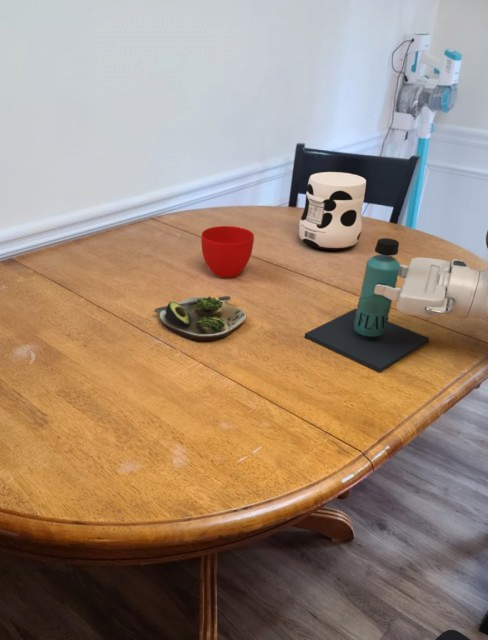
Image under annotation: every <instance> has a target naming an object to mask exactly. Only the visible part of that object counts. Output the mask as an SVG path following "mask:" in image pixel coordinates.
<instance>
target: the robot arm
mask: <svg viewBox="0 0 488 640" xmlns="http://www.w3.org/2000/svg"><path fill="white" fill-rule="evenodd" d="M485 234H486V235H485V244H486V245H485V246H486V248H487V249H488V230H487V231H486V233H485ZM397 277H399V278H403V279H404V280H403V283H402V286H401V287H398V286H396V287H395V288H393V287H390V286H387V285H386V284H385V283H377V284H376V286H375V290H374V293H375V294H378V295H383V296H385V297H387V298H388V299H390V300H393V302H397V303H396V308H395V310H396V311H397V312H398V313H400V314H402V315H409V316H415V317H416V316H417V317H425V318H437V317H439V316H444V315H447V316H450V317H456V318H461V319H467V320H468V319H469V320H470V319H479V320H482V321H486V322H488V268H486V269H485V270H480V269H473V268H472V267H470V266H469V265H467V263H466V262H465V261H464V260H462V259H455V258H453V259H452V260H451V261H449V260H446V259H441V258H435V257H434V258H432V257H422V256H420V257H419V256H418V257H412V258H411V259H410V262H409V264H408V265H407V264H400V269H399V272H398V276H397Z"/></svg>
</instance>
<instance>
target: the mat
mask: <svg viewBox="0 0 488 640" xmlns="http://www.w3.org/2000/svg"><path fill="white" fill-rule="evenodd" d="M356 312H357V308H354V309H352V310H350V311H347V312H346V313H344V314H342V315H339V316H337V317H335V318H333V319H331V320H329V321H327V322H325V323H323V324H321V325H319V326H317V327H315V328H313V329H311V330H309V331H307V332H305V333H304V338H305V339H306V340H309V341H310V342H313V343H315V344H317V345H319V346H321V347H324V348H326V349H328V350H330V351H333V352H335V353H336V354H339V355H341V356H342V357H345V358H347V359H349V360H351V361H353V362H355V363H358V364H360V365H362V366H365V367H366V368H368V369H370V370H373V371H375V372H377V373H378V374H380V373H382V372H383V371H385V370H387V369H389V368H391V366H394V365H395V364H396V363H398V362H400V361H401V360H403V359H405V358H406V357H408V356H409V355H411V354H412V353H414V352H416V351H417V350H419V349H420V348H422V347H424V346H425V345H427V344H428V343H430V341H431V337H428V336H426V335H423V334H421V333H419V332H416V331H414V330H412V329H411V330H410V329H408V328H406V327H403V326H401V325H398V324H396V323H393V322H391V321H389V320H388V321H387V323H386V327H385V328H386V329H385V331H384V332H383V334H382V335H380V336H375V337H371V336H364V335H361V334H359V333H357V332H356V331H355V330H354V320H355V318H354V317H355V316H356V315H355V314H356Z"/></svg>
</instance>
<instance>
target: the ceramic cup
mask: <svg viewBox="0 0 488 640" xmlns="http://www.w3.org/2000/svg"><path fill="white" fill-rule="evenodd" d="M200 239H201V241H200V242H201V252H202V257H203V259H204V263H205V264H206V266H207V268H208V270H210V272H211V273H212V274H213V273H214V274H215V275H217V276H220V277H219V278H221V277H232V278H235V277H234V276H236V275H237V276H239V274H240V273H241V272H242V271H243V270H244V269H245V268H246V267H247V265H248V263H249V261H250V259H251V256H252V253H253V247H254V242H255V234H254V233H253V232H252V231H251V230H249V229H246V228H244V227H239V226H232V225H220V226H213V227H208V228H206V229H204V230H203V231H202V232H201V237H200ZM214 274H213V275H214ZM215 275H214V276H215ZM217 276H216V277H217ZM237 276H236V277H237Z"/></svg>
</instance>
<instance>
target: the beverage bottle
mask: <svg viewBox="0 0 488 640" xmlns="http://www.w3.org/2000/svg"><path fill="white" fill-rule="evenodd" d="M399 245H400V241H398V240H396V239H394V238H389V237H387V238H386V237H384V238H379V239H377V242H376V245H375V248H374V252H375V253H377V254H376V255H374V256H372V257H370V258H368V259H367V261H366V263H365V269H364V275H363V280H362V285H361V290H360V294H359V298H358V300H357V301H358V302H357V306H356V309H357V312H356V314H355V315H356V316H355V317H354V318H355V320H354V330H355V331H356V332H357V333H359V334H361V335H364V336H371V337H375V336H380V335H382V334H383V332H384V331H385V329H386V328H385V327H386V323H387V321H389V318H390V316H389V315H390V312H391V309H392V303H393V302H394V301H393V300H390V299H388V298H387V297H385V296H383V295H378V294H375V293H374V290H375V286H376V284H377V283H385V284H386V285H387V286H390V287H393V288H395V287H397V284H398V283H397V282H398V281H399V280H398V277H399V276H398V272H399V269H400V265H401V264H400V262H399V261H398V260H397V258H395V257H394V256H396V255H398V253H399V247H400V246H399ZM392 301H393V302H392Z"/></svg>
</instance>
